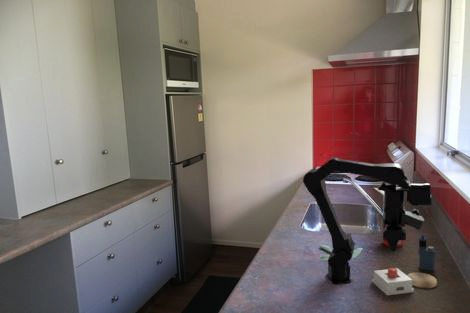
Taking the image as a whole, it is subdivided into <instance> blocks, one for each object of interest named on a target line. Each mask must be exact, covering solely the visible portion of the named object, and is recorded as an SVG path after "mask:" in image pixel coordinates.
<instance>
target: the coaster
mask: <svg viewBox="0 0 470 313" xmlns="http://www.w3.org/2000/svg"><path fill="white" fill-rule="evenodd" d="M406 275H407V276H408V277H409V278H411V279H412V287H417V288H420V289H421V288H422V289H433V288H436V287H437V285H438V280H437V279H436V278H435V277H434V276H432V275H431V274H428V273H424V272H420V271H419V272H410V273H408V274H406Z"/></svg>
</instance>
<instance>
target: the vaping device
mask: <svg viewBox="0 0 470 313" xmlns="http://www.w3.org/2000/svg"><path fill="white" fill-rule="evenodd" d="M418 239H419V240H418V255H419V265H418V268H419V269H421V270H425V271H434V270H435V268H436V250H435V247H434V246H432V245H431V246H427V245H428V243H427V240H428V239H427V238H426V236H425V235H423V234H422V235H420V237H419V238H418Z"/></svg>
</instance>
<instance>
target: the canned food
mask: <svg viewBox="0 0 470 313" xmlns="http://www.w3.org/2000/svg"><path fill="white" fill-rule="evenodd" d="M384 226H387V225H385V224H384V222H383V221H382V229H383V228H384ZM401 227H403V228H404V226H401ZM382 244H383V245H384V246H386V247H388V248H390V246H389V244H388V242H387V239H384V238H383V237H382ZM403 244H404V241H403V240H398V244H397V247H396V249H397V248H401V247H402V246H403Z"/></svg>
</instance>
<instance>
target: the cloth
mask: <svg viewBox="0 0 470 313" xmlns="http://www.w3.org/2000/svg"><path fill="white" fill-rule="evenodd" d="M320 249H321V250H323V251H325V250H326V252H327V253H328V252H329V254H322V255H323V256H322V255H319V258H321V261H322V260H323V261H322V262H328V259H329V256H330V254H331V251H332V250H333V248H331V246H329V245H325V244H322V245H319V250H320ZM362 251H363V247H357V248H356V249H354V252H353V255H352V258H351V260H353V259H355V258H357V256H359V255H360V254H361V253H362ZM322 258H323V259H322Z"/></svg>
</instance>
